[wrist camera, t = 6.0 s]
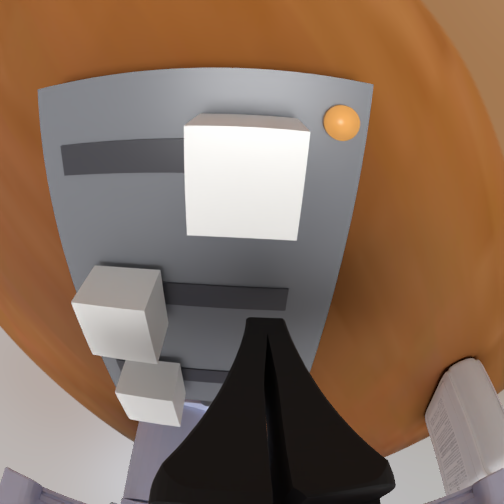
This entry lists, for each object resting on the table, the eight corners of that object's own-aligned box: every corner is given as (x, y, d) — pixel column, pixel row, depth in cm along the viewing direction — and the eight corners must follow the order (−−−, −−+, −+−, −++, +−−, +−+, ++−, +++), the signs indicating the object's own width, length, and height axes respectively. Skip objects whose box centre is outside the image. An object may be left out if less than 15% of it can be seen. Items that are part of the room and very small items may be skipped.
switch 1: (185, 392, 17) (180, 426, 15) (138, 386, 17) (129, 418, 15) (180, 363, 15) (172, 401, 13) (126, 356, 15) (114, 392, 13)
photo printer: (453, 406, 25) (484, 501, 14) (419, 419, 25) (445, 519, 15) (482, 349, 19) (536, 471, 9) (441, 365, 20) (489, 499, 10)
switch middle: (168, 323, 14) (157, 364, 12) (109, 316, 14) (92, 354, 12) (160, 269, 12) (144, 310, 10) (94, 265, 12) (71, 302, 10)
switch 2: (288, 204, 11) (296, 240, 9) (200, 200, 10) (187, 235, 8) (297, 118, 9) (310, 131, 7) (200, 113, 9) (183, 125, 7)
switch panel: (291, 394, 21) (294, 420, 19) (130, 382, 21) (123, 406, 19) (355, 82, 10) (376, 85, 8) (64, 84, 10) (33, 90, 8)
